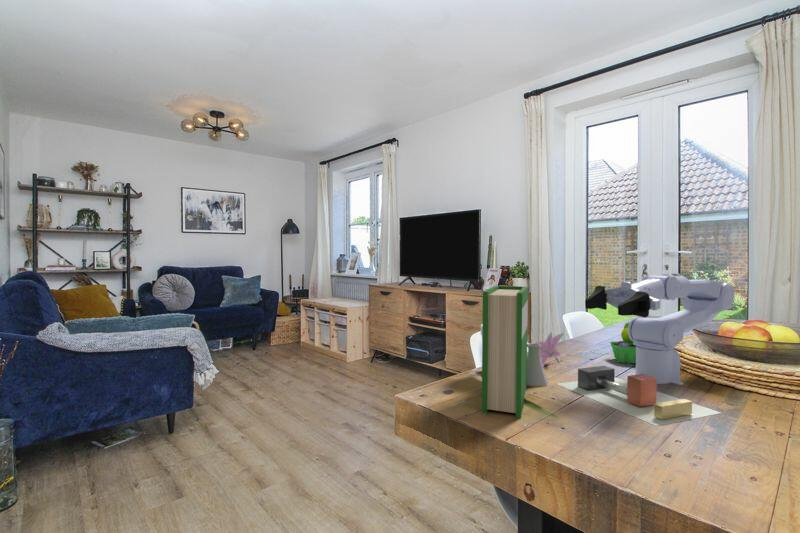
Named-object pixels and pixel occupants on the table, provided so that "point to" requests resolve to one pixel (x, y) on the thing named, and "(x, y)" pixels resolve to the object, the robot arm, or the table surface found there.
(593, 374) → the eye bracket
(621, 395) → the board
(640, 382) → the mallet
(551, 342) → the lily
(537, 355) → the flask
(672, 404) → the keeper bar
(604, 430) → the table surface
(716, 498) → the table surface
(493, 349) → the hardback book
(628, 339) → the fruit basket
